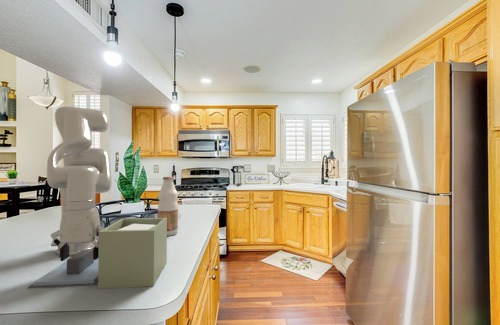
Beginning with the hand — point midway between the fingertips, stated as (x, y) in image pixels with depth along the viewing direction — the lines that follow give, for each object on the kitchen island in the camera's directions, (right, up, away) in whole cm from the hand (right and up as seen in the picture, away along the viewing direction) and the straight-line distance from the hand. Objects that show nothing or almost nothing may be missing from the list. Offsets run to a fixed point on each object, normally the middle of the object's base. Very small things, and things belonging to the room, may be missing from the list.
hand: (81, 258), depth 75 cm
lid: (0, -4, 0) cm, 4 cm away
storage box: (+18, -5, -1) cm, 19 cm away
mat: (0, -4, 0) cm, 4 cm away
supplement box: (+18, -5, -1) cm, 19 cm away
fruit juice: (+14, -4, +41) cm, 43 cm away
